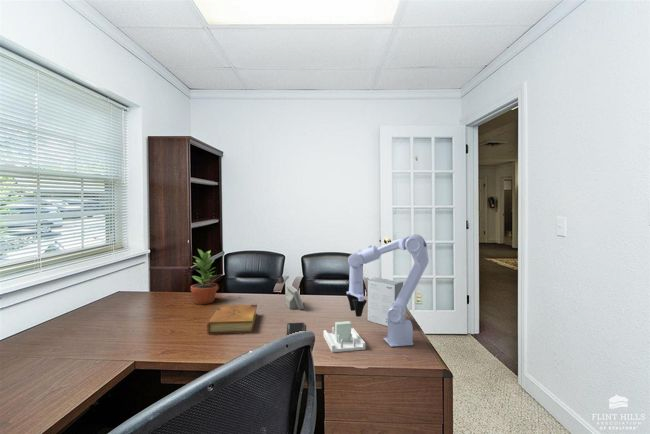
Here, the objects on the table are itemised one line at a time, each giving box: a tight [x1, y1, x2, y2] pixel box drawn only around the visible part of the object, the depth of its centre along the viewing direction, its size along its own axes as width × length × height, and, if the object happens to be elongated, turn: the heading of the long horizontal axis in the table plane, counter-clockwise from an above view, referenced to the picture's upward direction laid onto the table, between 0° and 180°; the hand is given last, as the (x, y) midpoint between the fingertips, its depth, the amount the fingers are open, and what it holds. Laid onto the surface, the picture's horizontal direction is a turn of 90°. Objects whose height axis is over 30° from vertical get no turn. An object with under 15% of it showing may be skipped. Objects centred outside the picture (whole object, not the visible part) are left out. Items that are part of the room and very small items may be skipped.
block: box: [334, 320, 352, 342], centre depth 132 cm, size 6×2×7 cm, turn 102°
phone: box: [286, 322, 306, 336], centre depth 144 cm, size 8×1×15 cm
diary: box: [206, 304, 258, 335], centre depth 152 cm, size 23×19×6 cm
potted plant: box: [190, 248, 219, 305], centre depth 186 cm, size 15×15×30 cm
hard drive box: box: [366, 276, 404, 327], centre depth 154 cm, size 16×8×20 cm, turn 47°
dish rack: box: [323, 326, 366, 353], centre depth 132 cm, size 13×16×4 cm
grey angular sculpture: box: [284, 284, 305, 311], centre depth 178 cm, size 16×9×11 cm, turn 10°
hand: (355, 313), depth 139 cm, fingers open, 7 cm apart
